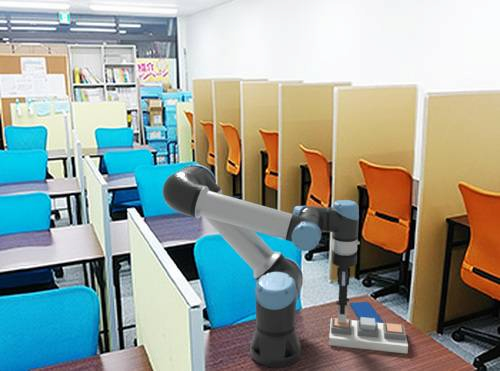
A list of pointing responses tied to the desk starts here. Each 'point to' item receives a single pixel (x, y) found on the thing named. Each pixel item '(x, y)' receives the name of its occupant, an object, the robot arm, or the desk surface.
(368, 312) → the smartphone
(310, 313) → the desk surface
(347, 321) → the left key
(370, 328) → the middle key
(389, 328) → the right key
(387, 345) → the white button panel
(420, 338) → the desk surface
